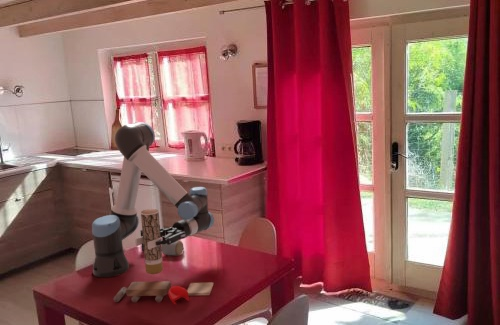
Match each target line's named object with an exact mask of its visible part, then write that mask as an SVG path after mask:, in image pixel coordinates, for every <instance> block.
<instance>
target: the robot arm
mask: <svg viewBox="0 0 500 325" xmlns="http://www.w3.org/2000/svg"><path fill="white" fill-rule="evenodd" d="M155 137H156V136H155V131H154V129H153V128H152V126H151V125H149V124H148V123H146V122H142V121H141V122H140V121H138V122H137V121H136V122H133V123H130V124H124V125H123V126H120V127H119V128H118V129H117V131H116V132H115V134H114V143H115V146H116V148H117V150H118V151H119V152H120V154H121V155H122V156H123V159H122V160H123V162H122V165H121V172H120V177H119V183H118V188H117V195H116V200H115V204H114V205H112V206H111V209H110V214H108V215H103V216H101V217H98V218H96V219H94V221H93V222H92V224H91V234H92V238H93V246H94V247H93V248H94V254H95V255H94V260H93V266H92V272H93V274H92V275H93V276H94V277H97V278H111V277H116V276H119V275H122V274H124V273H126V272H127V271H128V270H129V269H130V264H129V261H128V259H127V257H126V255H125V253H124V246H123V240H125V239H126V238H128V237H129V236H130V235H132V234H134V232H135V231H136V230H137V229H138V226H139V223H140V222H139V221H140V220H139V216H138V210H137V208H136V207H135V206H136V203H137V202H136V201H137V196H138V190H139V185H140V180H141V176H142V173H143V174H144V175H145V176H146V177H147V178H148V179H149V181H151V182H152V183H153V184H154V186H155V187H156V188H157V189H158V190H159V191H160V192H161V193H162V194H163V195H164V196H165V197H166V198H167V199H168V200H169V201H170V202H171V203H172V204H173V205H174V207H175V208H176V209H177V214H178V217H180V219H181V220H178V221H175V222H174V223H173V224H172V226H171V227H169V226H168V228H166V227H165V226H161V227H160V237H161V238H158V239H155V240H152V241H150V242H147V244H148V249H152V248H154V247H157V246H159V245H161V246H162V244H166V243H167V245H170V244H172V243H174V242H176V241H178V240H179V241H181V240H183V239H186V238H188V237H191V236H193V235H195V234H198V233H200V232H203V231H207V230H209V229H210V228H212V227H213V226H214V224H215V219H214V215H213V214H212V212H209V202H208V201H209V200H208V199H209V197H208V196H209V195H208V190H207V188H206V187H204V186H194V187H192V188H190V189H189V192H187V190H186V189H185V188H184V187H183V186H182V185H181V184H180V183H179V182H178V181H177V180H176V179H175V178H174V177H173V176H172V175H171V174H170V173H169V172H168V171H167V170H166V168H165V167H164V166H163V165H162V164H161V163H160V162H159V161H158V160H157V159H156V158H155V157H154V155H152V154H151V152H150V151H149V150H150V147H151V146H152V145H153V143H154V142H155ZM134 244H135V246H136V247H138V246H139V245H141V246H142V244H143V236H142V237H141V236H140V237H137V238H134Z"/></svg>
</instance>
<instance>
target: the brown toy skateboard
mask: <svg viewBox="0 0 500 325" xmlns="http://www.w3.org/2000/svg"><path fill="white" fill-rule="evenodd" d="M171 287H172V282H171V280H169V281H168V280H163V281H161V280H160V281H157V280H156V281H153V280H152V281H132V282H131V283H130V285H129V286H128V287H126V286H123V287H121V288H120V290H118V292H117V293H116V295H114V297H113V301H114V303H119V302H120V301H121V300H122V298H123V297H124V296H125V295H126V297H131V303H137V302H138V301H139V300H140V298H141V297H143V296H144V297H145V296H149V297H151V296H155V298H154V299H155V301H156V302H157V303H160V302H162V300H163V299H164V297H165V296H167V295H168V292H169V290H170V288H171Z"/></svg>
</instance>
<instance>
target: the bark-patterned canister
mask: <svg viewBox="0 0 500 325" xmlns="http://www.w3.org/2000/svg"><path fill="white" fill-rule="evenodd" d="M159 212H160V211H159V209H157V208H147V209H143V210H141V211H140V218H141V220H140V221H141V230H142V232H143V244H144V251H143V255H144V264H145V272H146V273H147V274H149V275H157V274H160V273H161V272H162V271H163V270H164V266H163V264H164V263H163V253H162V245H159V246H157V247H154V248H152V249H148V244H147V242H150V241H152V240H155V239H158V238H162V237H160V228H161V224H160V216H159V215H160V213H159Z"/></svg>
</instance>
